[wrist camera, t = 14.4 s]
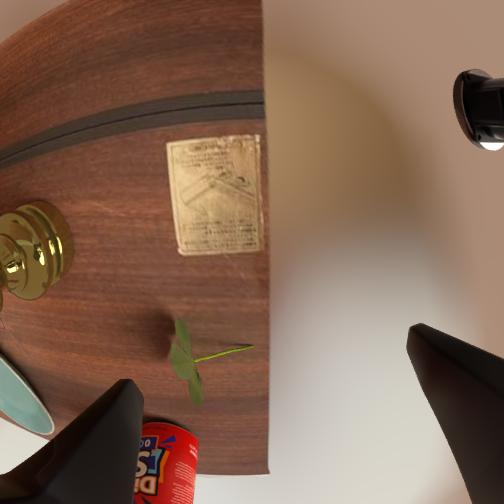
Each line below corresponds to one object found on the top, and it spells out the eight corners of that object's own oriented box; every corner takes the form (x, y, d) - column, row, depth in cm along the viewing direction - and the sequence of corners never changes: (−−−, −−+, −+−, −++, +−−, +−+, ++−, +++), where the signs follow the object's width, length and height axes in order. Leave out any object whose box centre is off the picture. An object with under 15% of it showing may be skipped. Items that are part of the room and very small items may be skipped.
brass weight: (65, 293, 21) (4, 359, 12) (14, 250, 20) (-53, 297, 10) (86, 227, 19) (3, 283, 10) (29, 184, 17) (-56, 215, 8)
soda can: (199, 450, 30) (191, 542, 16) (145, 440, 30) (124, 528, 16) (199, 423, 28) (187, 535, 14) (136, 411, 27) (106, 516, 13)
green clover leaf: (221, 316, 28) (159, 328, 24) (260, 294, 22) (180, 310, 18) (241, 382, 26) (180, 401, 22) (287, 381, 20) (210, 411, 16)
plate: (50, 371, 25) (40, 386, 23) (66, 440, 32) (61, 451, 30) (-46, 299, 22) (-56, 307, 19) (-18, 383, 29) (-24, 391, 26)
